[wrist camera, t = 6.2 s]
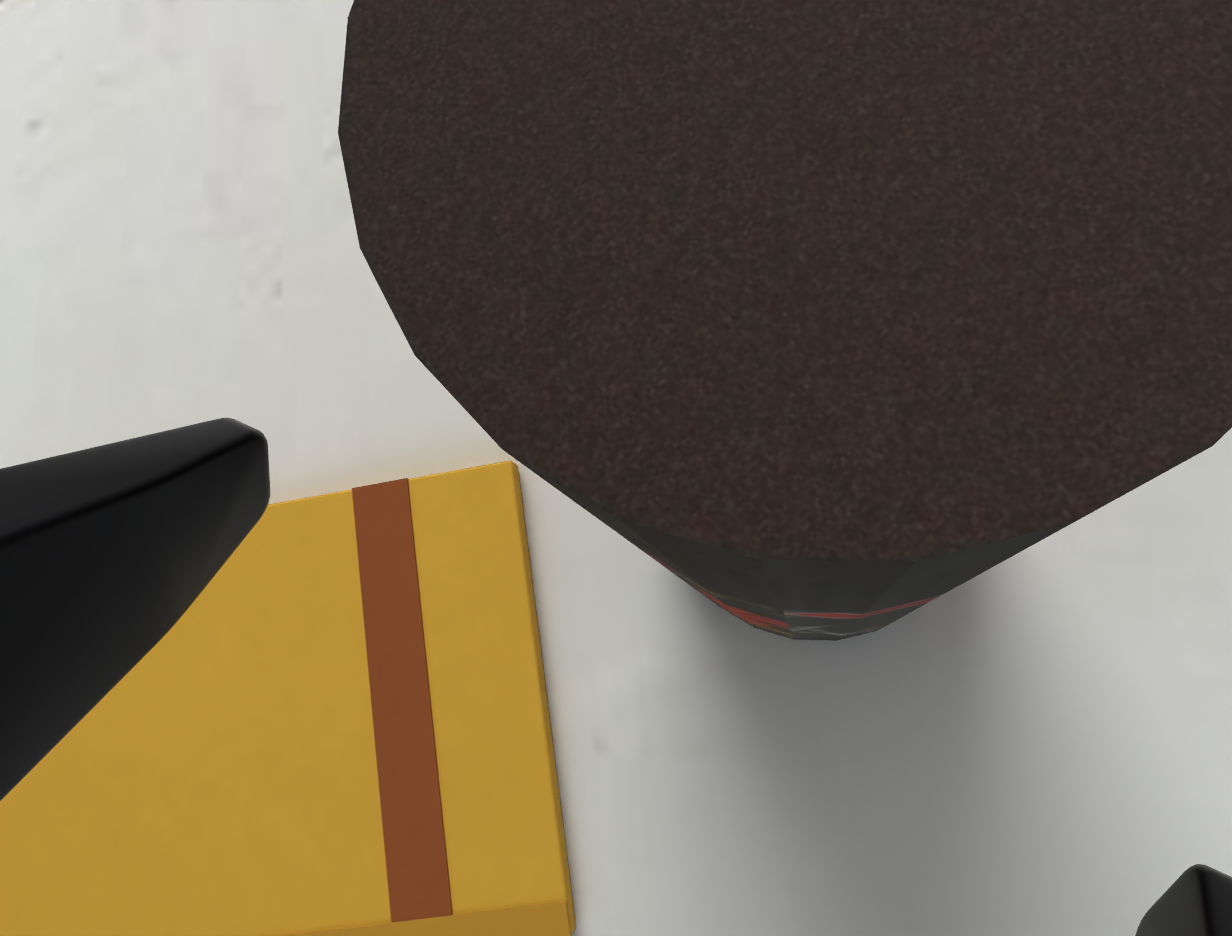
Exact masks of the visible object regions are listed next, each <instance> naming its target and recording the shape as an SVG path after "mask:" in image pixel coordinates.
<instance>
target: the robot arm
mask: <svg viewBox="0 0 1232 936" xmlns="http://www.w3.org/2000/svg"><path fill="white" fill-rule="evenodd" d="M269 498H270V480H269V459H268V444H267V440H266V438H265V436H264V434H263V433H261V432H260V431H259V430H257V429H254V428H252V427H250V426H248V425H246V424H244V423H241V422H239V421H237V420H235V419H231V418H221V419H216V420H211V421H207V422H203V423H198V424H194V425H190V426H185V427H181V428H177V429H172V430H168V431H164V432H159V433H155V434H151V435H146V436H142V437H137V438H133V439H129V440H124V441H120V442H116V443H111V444H107V445H103V446H98V447H94V448H90V449H85V450H81V451H77V452H72V453H68V454H63V455H59V456H55V457H50V458H46V459H42V460H37V461H33V462H29V463H24V464H20V465H16V466H11V467H7V468H2V469H0V801H1V800H2V799H3V798H4V797H5V796H6V795H7V794H8V793H9V792H10V791H11V790H12V789H13V788H14V787H15V786H16V785H17V784H18V783H19V782H20V781H21V780H22V779H23V778H24V777H25V776H26V775H27V774H28V773H29V772H30V771H31V770H32V769H33V768H34V767H35V766H36V765H37V764H38V763H39V762H40V761H41V760H42V759H43V758H44V757H45V756H46V755H47V754H48V753H49V752H50V751H51V750H52V749H53V748H54V747H55V746H56V745H57V744H58V743H59V742H60V741H61V740H62V739H63V738H64V737H65V736H66V735H67V734H68V733H69V732H70V731H71V730H72V729H73V728H74V727H75V726H76V725H77V724H78V723H79V722H80V721H81V720H82V719H83V718H84V717H85V716H86V715H87V714H88V713H89V712H90V711H91V710H92V709H93V708H94V707H95V706H96V705H97V704H98V703H99V702H100V701H101V700H102V699H103V698H104V697H105V695H106V694H107V693H108V692H109V691H110V690H111V689H112V688H113V687H114V686H115V685H116V684H117V683H118V682H119V681H120V680H121V679H122V678H123V677H124V676H125V675H126V674H127V673H128V672H129V671H130V670H131V669H132V668H133V667H134V666H135V665H136V664H137V663H138V662H139V661H140V660H141V659H142V658H143V657H144V656H145V655H146V654H147V653H148V652H149V651H150V650H151V649H152V648H153V647H154V646H155V645H156V644H157V643H158V642H159V641H160V640H161V639H162V638H163V637H164V636H165V634H166V633H167V632H168V631H169V630H170V629H171V628H172V627H173V626H174V625H175V624H176V622H177V621H178V620H179V619H180V618H181V617H182V615H183V614H184V613H185V612H186V611H187V609H188V608H189V607H190V606H191V605H192V603H193V602H194V601H195V600H196V598H197V597H198V596H199V595H200V593H201V592H202V591H203V590H204V588H205V587H206V586H207V585H208V583H209V582H210V581H211V580H212V578H213V577H214V576H215V575H216V573H217V572H218V571H219V570H220V568H221V567H222V566H223V565H224V563H225V562H226V561H227V560H228V558H229V557H230V556H231V555H232V553H233V552H234V551H235V550H236V549H237V547H238V546H239V545H240V544H241V542H242V541H243V540H244V539H245V537H246V536H247V535H248V534H249V532H250V531H251V530H252V529H253V527H254V526H255V525H256V524H257V522H258V521H259V520H260V518H261V517H262V516H263V514H264V512H265V510H266V508H267V505H268V502H269ZM1135 936H1232V877H1230V876H1228V875H1226V874H1224V873H1222V872H1219V871H1217V870H1215V869H1213V868H1211V867H1209V866H1206V865H1202V864H1197V865H1194V866H1191V867H1190V868H1188V869H1187V870H1186V871H1185V872H1184V873H1183V874H1182V875H1181V876H1180V877H1179V878H1178V879H1177V880H1176V881H1175V882H1174V884H1173V885H1172V886H1171V887H1170V888H1169V889H1168V890H1167V891H1166V892H1165V893H1164V894H1163V895H1162V896H1161V897H1160V898H1159V900H1158V901H1157V902H1156V903H1155V904H1154V905H1153V906H1152V907H1151V908H1150V909H1149V910H1148V912H1147V913H1146V914H1145V916H1144V917H1143V919H1142V920H1141V923H1140V925H1139V927H1138V929H1137V932H1136V935H1135Z"/></svg>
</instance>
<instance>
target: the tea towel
mask: <svg viewBox="0 0 1232 936" xmlns="http://www.w3.org/2000/svg"><path fill="white" fill-rule="evenodd" d="M575 928H576V923H575V915H574V908H573V900H572V892H571V884H570V876H569V868H568V860H567V852H566V844H565V836H564V828H563V820H562V813H561V805H560V797H559V789H558V781H557V773H556V765H555V757H554V749H553V741H552V733H551V725H550V718H549V710H548V702H547V694H546V686H545V678H544V670H543V662H542V654H541V646H540V638H539V630H538V623H537V615H536V607H535V599H534V591H533V583H532V575H531V567H530V559H529V551H528V543H527V535H526V527H525V520H524V512H523V504H522V496H521V488H520V480H519V472H518V466H517V465H516V464H515V463H513V462H512V461H506V462H500V463H495V464H489V465H484V466H478V467H473V468H467V469H462V470H456V471H451V472H446V473H440V474H435V475H429V476H424V477H418V478H413V479H407V478H406V479H400V480H395V481H389V482H384V483H378V484H373V485H367V486H362V487H357V488H352V490H347V491H341V492H336V493H330V494H325V495H320V496H314V497H309V498H303V499H298V500H292V501H287V502H281V503H276V504H270V505H267V508H266V510H265V512H264V514H263V516H262V517H261V518H260V520H259V521H258V522H257V524H256V525H255V526H254V527H253V529H252V530H251V531H250V532H249V534H248V535H247V536H246V537H245V539H244V540H243V541H242V542H241V544H240V545H239V546H238V547H237V549H236V550H235V551H234V552H233V553H232V555H231V556H230V557H229V558H228V560H227V561H226V562H225V563H224V565H223V566H222V567H221V568H220V570H219V571H218V572H217V573H216V575H215V576H214V577H213V578H212V580H211V581H210V582H209V583H208V585H207V586H206V587H205V588H204V590H203V591H202V592H201V593H200V595H199V596H198V597H197V598H196V600H195V601H194V602H193V603H192V605H191V606H190V607H189V608H188V609H187V611H186V612H185V613H184V614H183V615H182V617H181V618H180V619H179V620H178V621H177V622H176V624H175V625H174V626H173V627H172V628H171V629H170V630H169V631H168V632H167V633H166V634H165V636H164V637H163V638H162V639H161V640H160V641H159V642H158V643H157V644H156V645H155V646H154V647H153V648H152V649H151V650H150V651H149V652H148V653H147V654H146V655H145V656H144V657H143V658H142V659H141V660H140V661H139V662H138V663H137V664H136V665H135V666H134V667H133V668H132V669H131V670H130V671H129V672H128V673H127V674H126V675H125V676H124V677H123V678H122V679H121V680H120V681H119V682H118V683H117V684H116V685H115V686H114V687H113V688H112V689H111V690H110V691H109V692H108V693H107V694H106V695H105V697H104V698H103V699H102V700H101V701H100V702H99V703H98V704H97V705H96V706H95V707H94V708H93V709H92V710H91V711H90V712H89V713H88V714H87V715H86V716H85V717H84V718H83V719H82V720H81V721H80V722H79V723H78V724H77V725H76V726H75V727H74V728H73V729H72V730H71V731H70V732H69V733H68V734H67V735H66V736H65V737H64V738H63V739H62V740H61V741H60V742H59V743H58V744H57V745H56V746H55V747H54V748H53V749H52V750H51V751H50V752H49V753H48V754H47V755H46V756H45V757H44V758H43V759H42V760H41V761H40V762H39V763H38V764H37V765H36V766H35V767H34V768H33V769H32V770H31V771H30V772H29V773H28V774H27V775H26V776H25V777H24V778H23V779H22V780H21V781H20V782H19V783H18V784H17V785H16V786H15V787H14V788H13V789H12V790H11V791H10V792H9V793H8V794H7V795H6V796H5V797H4V798H3V799H2V800H1V801H0V936H571V933H572V932H573V931H574V930H575Z"/></svg>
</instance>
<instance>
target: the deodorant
mask: <svg viewBox="0 0 1232 936" xmlns="http://www.w3.org/2000/svg"><path fill="white" fill-rule="evenodd" d="M338 135H339V140H340V145H341V151H342V156H343V161H344V166H345V172H346V177H347V182H348V187H349V193H350V198H351V203H352V208H353V214H354V219H355V224H356V230H357V235H358V240H359V245H360V249H361V251H362V253H363V255H364V257H365V259H366V261H367V263H368V265H369V267H370V269H371V271H372V273H373V275H374V277H375V279H376V281H377V283H378V285H379V287H380V289H381V291H382V293H383V294H384V296H385V298H386V300H387V302H388V304H389V306H390V308H391V310H392V312H393V314H394V316H395V318H396V320H397V322H398V324H399V325H400V327H401V329H402V331H403V333H404V335H405V337H406V339H407V341H408V343H409V345H410V347H411V349H412V351H413V353H414V355H415V356H416V357H417V358H418V359H419V360H420V361H421V362H422V363H423V365H424V366H425V367H426V368H427V369H428V370H429V371H430V372H431V373H432V374H433V375H434V376H435V377H436V379H437V380H438V381H439V382H440V383H441V384H442V385H443V386H444V387H445V388H446V389H447V390H448V391H449V393H450V394H451V395H452V396H453V397H454V398H455V399H456V400H457V401H458V402H459V403H460V404H461V405H462V406H463V408H464V409H465V410H466V411H467V412H468V413H469V414H470V415H471V416H472V417H473V418H474V419H475V420H476V422H477V423H478V424H479V425H480V426H481V427H482V428H483V429H484V430H485V431H486V432H487V433H488V434H489V436H490V437H491V438H492V439H493V440H494V441H495V442H496V443H497V444H498V445H499V446H500V447H501V448H502V449H503V450H504V451H505V452H507V453H508V454H509V455H511V456H512V457H514V458H515V459H516V460H518V461H519V462H521V463H522V464H523V465H525V466H526V467H527V468H529V469H530V470H532V471H533V472H534V473H536V474H537V475H539V476H540V477H541V478H543V479H544V480H545V481H547V482H548V483H550V484H551V485H552V486H554V487H555V488H557V489H558V490H559V491H561V492H562V493H563V494H565V495H566V496H568V497H569V498H570V499H572V500H573V501H575V502H576V503H577V504H579V505H580V506H581V507H583V508H584V509H586V510H587V511H588V512H590V513H591V514H592V515H594V516H595V517H597V518H598V519H599V520H601V521H602V522H604V523H605V524H606V525H608V526H609V527H610V528H612V529H613V530H615V531H616V532H617V533H619V534H620V535H622V536H623V537H624V538H626V539H627V540H628V541H630V542H631V543H633V544H634V545H635V546H637V547H638V548H640V549H641V550H642V551H644V552H645V553H646V554H648V555H649V556H651V557H652V558H653V559H655V560H656V561H658V562H659V563H660V564H662V565H663V566H664V567H666V568H667V569H669V570H670V571H671V572H673V573H674V574H676V575H677V576H678V577H680V578H681V579H682V580H684V581H685V582H687V583H688V584H689V585H691V586H692V587H694V588H695V589H696V590H698V591H699V592H700V593H702V594H703V595H705V596H706V597H707V598H709V599H710V600H712V601H713V602H714V603H716V604H717V605H718V606H720V607H722V608H723V609H725V610H726V611H728V612H730V613H731V614H733V615H735V616H736V617H738V618H740V619H741V620H743V621H745V622H746V623H748V624H749V625H751V626H753V627H754V628H758V629H761V630H764V631H768V632H771V633H775V634H778V635H781V636H785V637H788V638H791V639H802V640H840V639H844V638H848V637H852V636H857V635H861V634H865V633H869V632H873V631H877V630H879V629H881V628H882V627H884V626H886V625H888V624H890V623H892V622H893V621H895V620H897V619H899V618H901V617H902V616H904V615H906V614H908V613H910V612H912V611H913V610H915V609H917V608H919V607H921V606H922V605H924V604H926V603H928V602H930V601H932V600H933V599H935V598H937V597H939V596H941V595H942V594H944V593H946V592H948V591H950V590H952V589H953V588H955V587H957V586H959V585H961V584H962V583H964V582H966V581H968V580H970V579H972V578H973V577H975V576H977V575H979V574H981V573H982V572H984V571H986V570H988V569H990V568H992V567H993V566H995V565H997V564H999V563H1001V562H1002V561H1004V560H1006V559H1008V558H1010V557H1012V556H1013V555H1015V554H1017V553H1019V552H1021V551H1022V550H1024V549H1026V548H1028V547H1030V546H1031V545H1033V544H1035V543H1037V542H1039V541H1041V540H1042V539H1044V538H1046V537H1048V536H1050V535H1051V534H1053V533H1055V532H1057V531H1059V530H1061V529H1062V528H1064V527H1066V526H1068V525H1070V524H1071V523H1073V522H1075V521H1077V520H1079V519H1081V518H1082V517H1084V516H1086V515H1088V514H1090V513H1091V512H1093V511H1095V510H1097V509H1099V508H1101V507H1102V506H1104V505H1106V504H1108V503H1110V502H1111V501H1113V500H1115V499H1117V498H1119V497H1121V496H1122V495H1124V494H1126V493H1128V492H1130V491H1131V490H1133V489H1135V488H1137V487H1139V486H1141V485H1142V484H1144V483H1146V482H1148V481H1150V480H1151V479H1153V478H1155V477H1157V476H1159V475H1161V474H1162V473H1164V472H1166V471H1168V470H1170V469H1171V468H1173V467H1175V466H1177V465H1179V464H1181V463H1182V462H1184V461H1186V460H1188V459H1190V458H1191V457H1193V456H1195V455H1197V454H1199V453H1201V452H1202V451H1204V450H1206V449H1208V448H1210V447H1211V446H1213V445H1214V444H1215V443H1216V442H1217V441H1218V440H1219V439H1220V438H1221V437H1222V436H1223V435H1224V434H1225V433H1226V432H1227V431H1229V430H1230V429H1231V428H1232V0H354V2H353V5H352V8H351V10H350V13H349V16H348V23H347V35H346V46H345V58H344V70H343V81H342V93H341V104H340V116H339V127H338Z"/></svg>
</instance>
